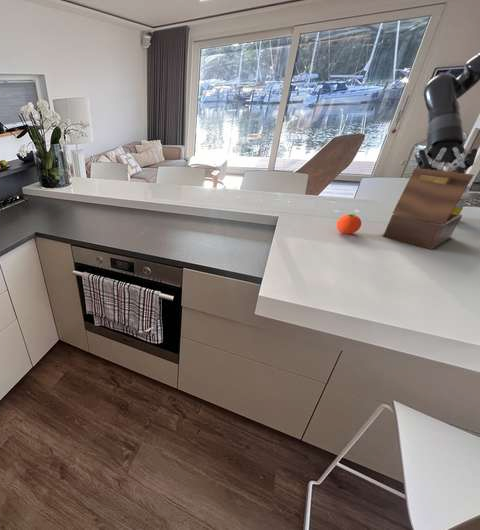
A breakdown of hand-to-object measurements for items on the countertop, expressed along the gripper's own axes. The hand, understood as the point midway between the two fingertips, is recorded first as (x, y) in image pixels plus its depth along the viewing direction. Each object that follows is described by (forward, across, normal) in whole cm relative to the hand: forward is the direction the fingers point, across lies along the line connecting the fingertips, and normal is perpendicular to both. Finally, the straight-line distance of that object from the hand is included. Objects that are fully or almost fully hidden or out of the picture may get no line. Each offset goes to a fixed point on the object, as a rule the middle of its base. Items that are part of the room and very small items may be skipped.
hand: (445, 180), depth 88 cm
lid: (+6, -4, -1) cm, 7 cm away
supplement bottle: (+1, +14, +26) cm, 29 cm away
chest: (+14, -1, +12) cm, 19 cm away
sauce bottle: (+4, 0, +6) cm, 7 cm away
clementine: (+14, -21, +12) cm, 28 cm away
